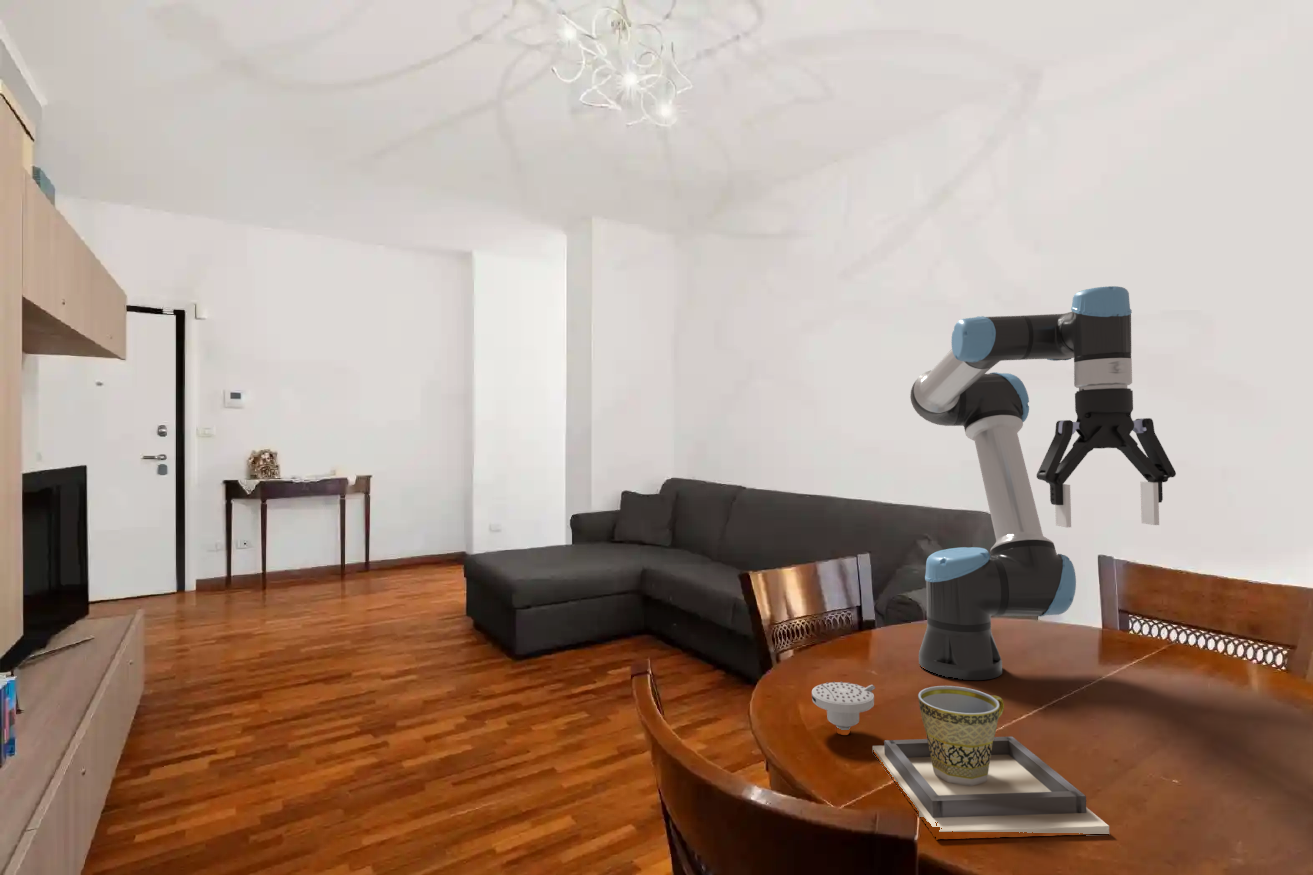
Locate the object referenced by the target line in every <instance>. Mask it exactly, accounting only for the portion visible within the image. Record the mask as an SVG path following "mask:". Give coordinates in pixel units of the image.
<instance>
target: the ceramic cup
mask: <svg viewBox="0 0 1313 875" xmlns="http://www.w3.org/2000/svg"><path fill="white" fill-rule="evenodd" d="M917 699H918V705H919V710H920V715H921V720H922V723H923V727H924V731H925V733H926V734H925V736H926V739H927V740H928V745H929V750H930V755H931V761H932V766H933V770H934V773H935V775H937V776H938V777H940V778H942V779H943V780H945V781H947V782H949V783H954V784H960V785H966V786H973V785H977V784H980V783H984V782H986V780H987V776H988V770H989V763H990V757H991V751H992V744H993V740H994V737H996V731H997V727H998V721H999V718H1000V717H1001V716H1002V714H1003V713H1004V709H1005V703H1004V700H1003V698H1002V697H1001V696H998V695H992V694H991V695H990V694H988V693H985V692H982V691H980V690H977V689H974V688H973V689H972V688H968V687H963V686H957V685H956V686H954V685H937V686H930V687H926V688H923V689H922V690H920V691H919V692H918V694H917Z"/></svg>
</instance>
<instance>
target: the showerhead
mask: <svg viewBox="0 0 1313 875" xmlns="http://www.w3.org/2000/svg"><path fill="white" fill-rule="evenodd" d="M875 689H876V686H875V685H874V684H870V685H867V686H866V687H865V686H862V685H859V684H857V683H851V682H843V681H840V682H839V681H838V682H835V681H832V682H826V683H821V684H818V685H816V686H814V687H813V688H812V690H811V699H812V700H811V701H812V703H813V704H814V705H816V706H817V707H818V708H820V709H822V710H825V711H826V716H827V717H826V718H827V721H828V722H830V724H832V725H834V726H835V728H836V727H837V728H839V729H841V730H849V729H850V728H851V727H854V726H856V725H857V724H858V723H859V722H860V713H864V712H867V711H869V710H871V709H872V708H874V705H875V695H874V693H873V692H872V691H873V690H875Z"/></svg>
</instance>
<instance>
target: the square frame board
mask: <svg viewBox="0 0 1313 875" xmlns="http://www.w3.org/2000/svg"><path fill="white" fill-rule="evenodd" d="M883 743H884V745H872V751H873V750H874V752H875V753H876V754H877V756H878V757H879V759H880V760H881V762H883V764H884V766H885V767H886V768H887V770H888V771H889V772H890V774H891V775H892V777H894V779H895V780H896V782H898V784H899V786H900V787H901V788H902V789H903V791H904V792H905V793H906V794H907V796H908V797H909V798H910V800H911V801H912V802H913V804H914V805H915V807H916V808H917V810H918V811H919V816H918V817H919V818H920V817H924V818H925V819H926V821H927V822H929V823H930V824H931V826H932V827H940V830H939V832H952V831H953V832H1019V833H1020V832H1023V833H1024V832H1027V833H1032V832H1033V833H1079V834H1080V833H1083V834H1109V835H1110V825H1109V824H1107V823H1106V822H1105V821H1104V820H1103V819H1101V817H1099V816H1098V815H1096V813H1094V812H1093V811H1092V810H1091V809H1089V808H1088V807H1087V796H1086V795H1085V794H1084V793H1083V792H1081V791H1080V790H1079V789H1078V788H1076V787H1075V786H1074V785H1073V784H1072V783H1070V781H1068V780H1067V779H1065V778H1064V777H1063V776H1062V775H1061V774H1059V773H1058V772H1057V771H1056V770H1055V769H1053V768H1052V767H1051V766H1049V764H1047V763H1046V762H1044V761H1043V760H1042V759H1041V758H1040V757H1039V756H1037V755H1036V754H1034V752H1032V751H1031V750H1029V749H1028V748H1027V747H1026V746H1025V745H1023V744H1022V743H1021V742H1020V741H1019V740H1017V739H1016V738H1015V737H1013V736H994V740H993V744H992V751H991V757H990V763H989V770H988V776H987V780H986V782H984V783H980V784H977V785H973V786H966V785H960V784H954V783H949V782H947V781H945V780H943V779H942V778H940V777H938V776H937V775H935V773H934V770H933V766H932V761H931V755H930V750H929V745H928V740H927V738H923V739H922V738H921V739H919V738H918V739H914V738H913V739H889V740H888V739H886V740H884V741H883ZM935 822H936V823H937V822H938V823H937V826H936V823H935ZM941 828H942V829H941Z"/></svg>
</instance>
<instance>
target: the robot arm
mask: <svg viewBox="0 0 1313 875" xmlns="http://www.w3.org/2000/svg"><path fill="white" fill-rule="evenodd" d="M1132 313H1133V312H1132V309H1131V302H1130V293H1129V291H1128V289H1126V287H1124V286H1123V287H1122V286H1115V285H1114V286H1112V285H1111V286H1100V287H1091V288H1087V289H1083V290H1079V291H1078V292H1076V293H1074V295H1073V296H1072V304H1071V308H1070V311H1069V312H1066V313H1053V314H1031V315H1030V314H1028V315H1007V316H1006V315H1005V316H1004V315H1000V316H984V315H981V316H975V317H969V318H968V317H967V318H966V317H965V318H961V319H959V320H958V321H957V322H956V323H955V324H954V327H953V330H952V333H951V349H950V350H949V351H948V352H947V353H946V354H945V355H944V356H943V357H942V359H941V360H940V361H939V362H938V363H937V364H936V365H935V366H934V368H932V370H928V371H925V372H924V373H922V374H920V375H919V377H918V378H917V379H916V380H915V381H914V383H913V384H912V387H911V389H910V394H909V395H910V397H909V398H910V403H911V404H912V407H913V409H914V411H915V412H916V413H917V414H918V415H919V416H920V417H921V418H923V420H925V421H927V422H929V423H931V424H933V425H934V424H935V425H938V426H945V427H955V426H957V427H961V426H962V427H964V428H963V429H964V432H965V436H966V437H967V438H968V439H970V440H972V441H974V444H975V448H976V454H977V458H978V462H979V468H980V471H981V472H980V473H981V477H982V482H983V486H984V490H985V495H986V500H987V504H988V510H989V513H990V518H991V523H992V527H993V531H994V532H993V533H994V538H995V543H994V544H993V546H991V548H990V551H989V550H987V549H986V548H984V547H978V546H977V547H976V546H973V547H971V546H970V547H966V546H964V547H963V546H962V547H960V546H959V547H953V548H951V547H950V548H947V549H941V550H937V551H935V552H933V553H931V554H930V555H928V557H927V559H926V562H925V575H924V580H925V589H926V595H925V596H926V624H927V625H926V630H925V632H924V635H923V638H922V641H921V642H922V643H921V645H920V648H919V651H918V665H919V664H920V665H921V667H924V668H925V669H926V670H928V671H930V672H933V673H936V674H938V675H937V676H939V675H942V676H941V677H943V676H945V678H948V677H953V678H952V679H954V678H958V679H957V680H962V679H963V680H965V681H983V680H984V681H985V680H992V679H996V678H998V677H1000V676H1002V674H1003V660H1002V657H1001V655H1000V653H999V648H998V647H997V643H996V641H995V638H994V636H993V632H992V616H1037V617H1042V618H1043V617H1045V616H1059V615H1062V614H1064V613H1065V612H1067V611H1068V610H1069V609H1070V608H1071V606H1072V604H1073V602H1074V598H1075V596H1076V588H1077V578H1076V577H1077V576H1076V571H1075V566H1074V564H1073V562H1072V560H1070V558H1069V557H1068V556H1067V555H1065V554H1062V553H1058V554H1057V551H1056V546H1055V543H1054V541H1052V540H1051V539H1049V538H1048V537H1045V536H1044V534H1043V533H1044V532H1043V530H1042V526H1041V523H1040V518H1039V514H1038V510H1037V506H1036V502H1035V499H1034V495H1033V491H1032V487H1031V482H1030V478H1029V473H1028V470H1027V465H1026V462H1025V458H1024V454H1023V451H1022V447H1021V442H1020V439H1019V432H1020V431H1021V430H1022V428H1023V427H1024V423H1025V421H1026V420H1027V418H1028V416H1029V412H1030V406H1029V403H1030V398H1029V394H1028V391H1027V388H1026V386H1025V385H1024V383H1023V381H1022V380H1021V378H1020V377H1018V376H1016V375H1015V374H1011V373H1010V372H1009V373H1006V372H1003V373H1001V372H990V373H988V372H989V371H990V370H991V369H992V368H993V367H994V366H996V365H997V364H998V363H999V362H1001V361H1021V360H1022V361H1023V360H1026V361H1027V360H1028V361H1029V360H1048V361H1054V362H1055V361H1056V362H1057V361H1068V360H1072V359H1073V364H1074V366H1073V372H1074V373H1073V374H1074V376H1073V378H1074V379H1073V382H1074V387H1075V388H1077V389H1078V391H1076V392H1075V393H1074V410H1075V414H1076V417H1077V418H1076V421H1073V420H1070V419H1069V420H1067V419H1066V420H1064V419H1063V420H1057V421H1056V422H1055V431H1054V437H1053V439H1052V440H1051V442H1050V444H1049V447H1048V449H1047V452H1046V454H1045V456H1044V458H1043V460H1042V461H1041V465H1040V466H1039V469H1038V471H1037V473H1036V478H1037V479H1038V480H1041V481H1044V482H1046V483H1047V484H1049V494H1050V496H1049V497H1050V500H1049V501H1050V503H1051V505H1053V506H1054V505H1055V512H1054V513H1055V526H1058V527H1061V528H1072V508H1071V507H1072V504H1071V500H1072V498H1071V484H1065V483H1066V482H1067V480H1068V479H1069V477H1070V476H1071V475H1073V472H1074V471H1075V470H1076V469H1077V467H1078V466H1079V465H1080V463H1082V461H1083V460H1084V459H1085V458H1086V456H1087V455H1088V453H1090V452H1091V451H1093V450H1094V449H1117V450H1118V451H1120V452H1121V453H1122V454H1123V455H1124V456H1125V458H1126V459H1127V460H1128V461H1129V462H1130V463H1131V464H1132V465H1133V467H1134V468H1135V469H1136V470H1137V471H1138V472H1139V473H1140V474H1141V476H1143V478H1144V479H1145V480H1146V481H1140V510H1141V515H1140V517H1141V524H1146V525H1150V526H1152V525H1153V526H1160V510H1159V509H1160V506H1159V505H1160V504H1159V503H1162V502H1163V500H1164V499H1163V498H1164V497H1163V496H1164V495H1163V483H1167V482H1168V481H1169V478H1175V477H1176V475H1177V473H1176V470H1175V468H1174V466H1173V465H1172V463H1171V461H1170V459H1169V457H1168V455H1167V453H1166V451H1165V449H1164V447H1163V445H1162V444H1161V442H1160V439H1159V438H1158V436H1157V434H1156V432H1155V426H1154V420H1153V419H1152V418H1150V417H1147V418H1136V419H1135V420H1133V418H1132V412H1133V411H1134V395H1133V394H1134V392H1133V390H1132V388H1129V387H1128V386H1131V385H1132V384H1133V366H1132V365H1133V364H1132V363H1133V362H1132ZM1132 431H1133V432H1134V433H1135V435H1136V438H1137V440H1138V442H1139V444H1140V446H1141V447H1142V449H1143V450H1142V449H1141V448H1140V447H1139V446H1138V442H1137V441H1136V440H1135V439H1134V438H1133V436H1132V435H1131V433H1132ZM1075 433H1077V434H1078V435H1079V436H1078V437H1077V439H1076V440H1074V442H1073V444H1072V447H1071V449H1070V450H1069V451H1068V452H1067V454H1066V455H1065V453H1066V451H1067V449H1068V446H1069V444H1070V442H1071V440H1072V437H1073V435H1074V434H1075ZM1143 451H1144V452H1143ZM1064 455H1065V456H1064ZM920 665H919V666H920ZM921 667H920V668H921ZM926 670H925V671H926ZM928 671H927V672H928ZM930 672H929V673H930ZM933 673H932V674H933ZM936 674H935V675H936ZM963 680H962V681H963Z"/></svg>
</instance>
